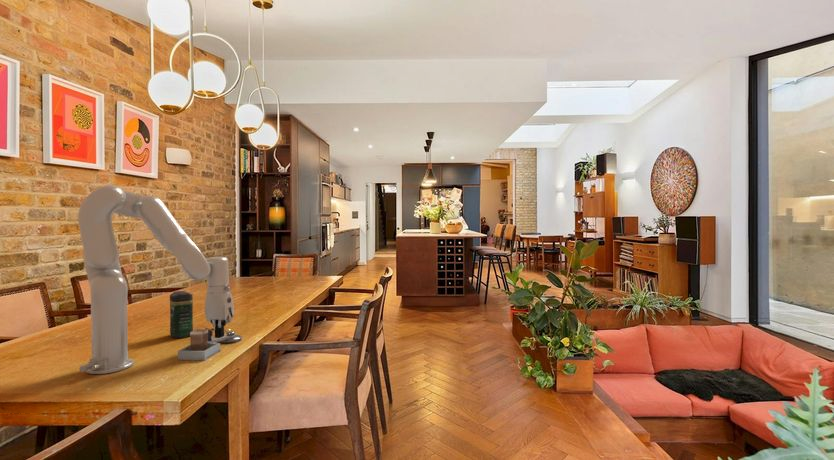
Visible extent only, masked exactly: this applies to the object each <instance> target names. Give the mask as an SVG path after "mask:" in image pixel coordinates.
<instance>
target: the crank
mask: <svg viewBox="0 0 834 460" xmlns="http://www.w3.org/2000/svg"><path fill="white" fill-rule="evenodd" d="M205 329H207V330H208V343H220V341H222V340H226V339H230V338H233V337H235V335H236V332H235V330H231V331H229V332H227V335H225V334H224V336H223V337H221V338H215V337H214V332H215V327H209V326H205Z"/></svg>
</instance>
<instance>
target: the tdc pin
mask: <svg viewBox="0 0 834 460" xmlns="http://www.w3.org/2000/svg"><path fill="white" fill-rule="evenodd" d="M229 331H232V330H231V328H226V329H225V328H224V335H227V332H229Z"/></svg>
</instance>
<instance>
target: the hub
mask: <svg viewBox="0 0 834 460" xmlns="http://www.w3.org/2000/svg"><path fill="white" fill-rule="evenodd" d="M241 341H242V335H240V334H235V337H233V338H230V339H226V340H222V341H219V343H220V344H235V343H238V342H241Z"/></svg>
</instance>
